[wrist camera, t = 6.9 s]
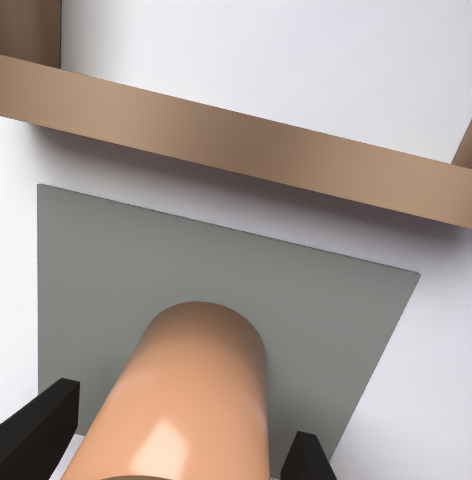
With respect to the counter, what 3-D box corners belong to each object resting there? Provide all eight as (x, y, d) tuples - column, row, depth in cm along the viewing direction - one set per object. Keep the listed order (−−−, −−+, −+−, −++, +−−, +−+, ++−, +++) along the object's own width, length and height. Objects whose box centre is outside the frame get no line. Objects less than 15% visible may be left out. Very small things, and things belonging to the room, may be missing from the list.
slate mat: (418, 272, 11) (421, 275, 11) (315, 482, 15) (316, 487, 15) (41, 183, 10) (37, 184, 10) (41, 421, 14) (38, 425, 14)
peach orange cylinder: (280, 319, 11) (305, 511, 6) (247, 413, 13) (241, 633, 7) (150, 287, 11) (37, 450, 6) (135, 387, 13) (38, 589, 7)
